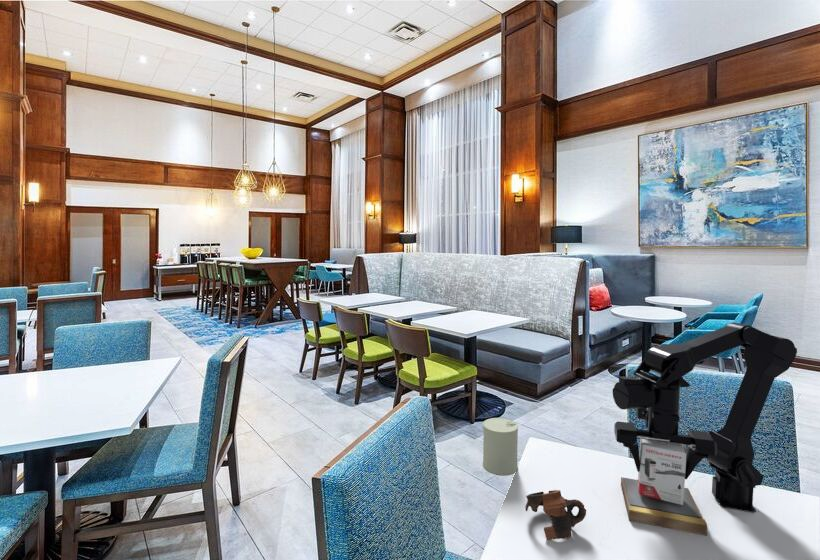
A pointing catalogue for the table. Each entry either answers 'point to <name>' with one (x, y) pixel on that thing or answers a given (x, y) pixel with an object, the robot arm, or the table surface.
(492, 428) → the can
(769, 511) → the table surface
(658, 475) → the ink box
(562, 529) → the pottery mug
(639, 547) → the table surface
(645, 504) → the framed panel
